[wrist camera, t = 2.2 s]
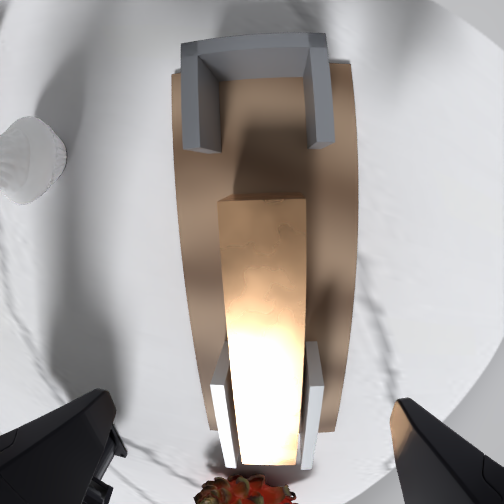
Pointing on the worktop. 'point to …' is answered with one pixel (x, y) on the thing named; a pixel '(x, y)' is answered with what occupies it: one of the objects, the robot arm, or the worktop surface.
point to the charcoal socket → (252, 67)
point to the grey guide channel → (309, 409)
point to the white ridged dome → (29, 160)
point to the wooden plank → (265, 318)
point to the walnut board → (273, 181)
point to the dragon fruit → (243, 491)
